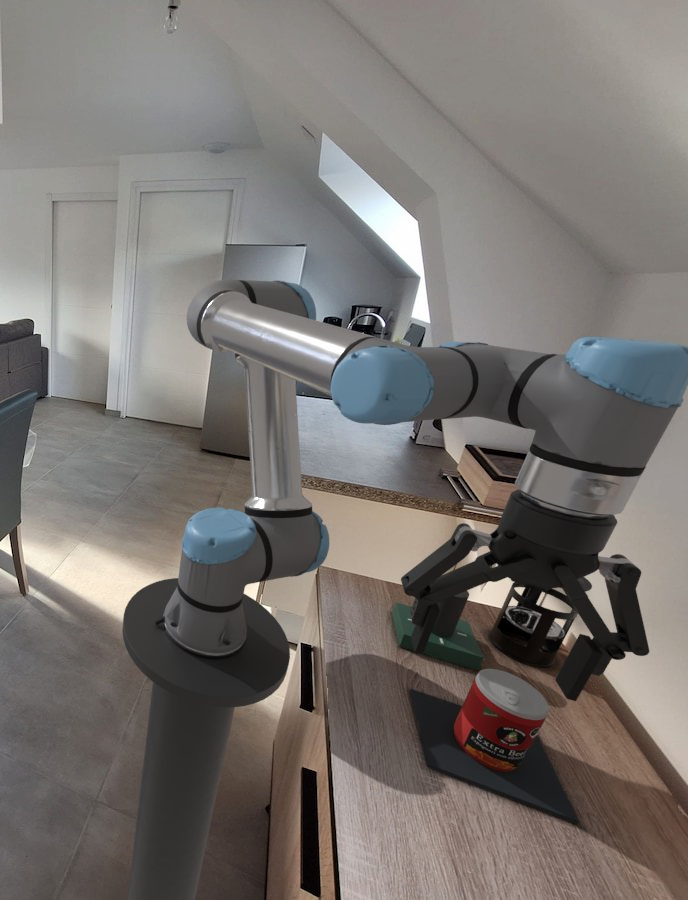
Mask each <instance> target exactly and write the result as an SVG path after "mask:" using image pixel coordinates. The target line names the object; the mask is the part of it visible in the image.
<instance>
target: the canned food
mask: <svg viewBox="0 0 688 900" xmlns="http://www.w3.org/2000/svg"><path fill="white" fill-rule="evenodd" d="M463 701H464V702H463V704H462V705H461V706H462V708H461V710H460V712H459V715H458V717H457V719H456V721H455V724H454V735H455V738H456V740H457V742H458V743H459V745H460V746H461V747H462V749H463V750H464V751H465V752H466V753H467V754H469V755H470V756H471V757H472V758H473V759H475V760H476V761H478V762H479V763H481V764H483V765H485V766H487V767H489V768H491V769H494V770H498V771H505V772H508V771H512V770H514V769H515V768H517V767H518V766H519V765H520V763H521V762H522V760H523V758H524V756H525V755H526V753H527V751H528V749H529V748H530V746H531V744H532V742H533V740H534V739H535V737H536V735H537V736H538V734H539V732H540V730H541V728H542V726H543V725H544V723H545V722H546V719H547V717H548V715H549V712H550V705H549V703H548V701H547V700H546V698H545V697H544V696H543V694H542V693H541V692H540V691H538V690H537V689H536V688H535V687H534V686H532V685H531V684H530V683H529V682H527V681H526V680H524V679H522V678H520V677H518V676H516V675H514V674H511V673H510V672H507V671H504V670H500V669H495V668H483V669H481V670H479V671H478V673H477V674H476V675H475V677H474V680H473V682H472V683H471V686H470V688H469V690H468V692H467V694H466V697H465V699H464V700H463Z"/></svg>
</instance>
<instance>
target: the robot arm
mask: <svg viewBox="0 0 688 900" xmlns="http://www.w3.org/2000/svg"><path fill="white" fill-rule="evenodd" d="M186 325H187V329H188V332H189V333H190V335H191V337H192V338H193V340H195V341H196V342H197V343H198V344H200V345H201V346H203V347H205V348H207V349H210V350H212V351H214V352H216V353H229V352H232V353H234V360H235V362H236V363H237V364H238V365H240V366H241V367H242V368H243V369H244V384H245V385H244V387H245V398H246V399H245V400H246V401H245V402H246V418H247V432H248V434H247V435H248V445H249V446H248V447H249V463H250V465H249V466H250V479H251V480H250V481H251V496H250V498H248V499H247V501H245V502H244V504H243V505H244V507H243V508H244V512H243V511H241V510H237V509H234V508H229V509H225V508H224V507H211V508H206V509H203V510H200V511H198V512H196V513H195V514H193V515H192V516H191V517H190V518H189V520H188V521H187V523H186V525H185V528H184V532H183V537H182V539H181V552H180V553H181V554H180V562H179V571H178V577H177V578H178V585H177V588H176V590H175V592H174V593H173V595H172V597H171V599H170V600H169V602H168V604H167V606H166V608H165V611H164V616H163V617H161V618H159V619H157V620H155V623H156V625H158V624H160V623H162V622H163V626H164V629H165V632H166V634H167V635H168V637H169V638H170V639H171V641H172V642H173V643H174V644H176V645H177V646H178V647H179V648H181V649H182V650H184V651H186V652H188V653H190V654H192V655H195V656H198V657H202V658H207V659H224V658H228V657H231V656H233V655H235V654H237V653H238V652H239V651H240V650H241V649H242V648H243V646H244V644H245V640H246V635H247V626H246V621H245V616H244V611H243V606H242V599H243V594H245V589H246V586H248V585H251V584H256V583H262V582H268V581H272V580H277V579H284V578H293V577H300V576H302V575H304V574H307V573H311V572H313V571H316V570H317V569H318V568H319V567H321V566H322V564H323V563H324V562H325V560H326V558H327V557H328V553H329V551H330V534H329V529H328V527H327V525H326V524H323V522H324V520H323V518H322V517H321V515H319V514H318V513H316V512H315V511H314V510H313V503H312V502H311V501H310V500H309V499H307V498H306V496H304V494H303V486H302V485H303V484H302V469H301V467H302V466H301V453H300V436H299V435H300V434H299V433H300V432H299V420H298V403H297V401H298V399H297V383H296V382H299V383H301V384H303V385H305V386H308V387H309V388H312V389H314V390H316V391H319V392H321V393H324V394H326V395H327V396H329V397H331V399H332V401H333V404H334V406H336V407H337V409H338V410H339V412H340V414H341V415H342V416H343V417H344V418H346V419H348V420H350V421H351V422H355V423H358V424H365V425H366V424H368V425H369V424H374V425H379V426H389V425H397V424H402V423H410V422H421V421H422V422H423V421H432V420H433V421H434V420H449V419H450V420H451V419H463V418H483V419H488V420H492V421H495V422H501V423H505V424H509V425H511V426H515V427H519V428H522V429H525V430H526V429H527V430H533V431H535V432H534V434H533V435H534V436H533V438H532V442H531V444H530V447H529V448H528V449H529V450H528V452H527V454H526V456H525V459H524V461H523V463H522V465H521V467H520V470H519V472H518V475H517V477H516V480H515V481H514V486H515V487H516V488H517V489H516V490H513V491H511V493H510V494H509V497H508V498H507V502H506V504H505V507H504V509H503V511H502V514H501V517H500V519H499V522H498V526H497V528H496V529H494V531H492V532H491V533H490V534H489V533H488V532H487V533H486V532H483V531H480V530H476V529H473V528H472V527H471V525H469V524H468V523H466V522H465V523H464V522H463V523H459V524H458V525H457V526H456V528H455V530H454V531H453V533H452V535H451V537H450V538H449V539H448V540H447V541H445V542H444V543H443V544H442V545H440V546H439V547H438V548H437V549H435V550H434V551H433V552H432V553H430V554H429V555H428V556H426V557H425V558H424V559H423V560H421V561H420V562H419V563H418V564H416V565H415V566H414V567H413V568H411V569H410V570H408V572H407V573H405V574H404V575H402V576H401V578H400V582H401V586H402V590H403V592H404V594H405V595H406V596H408V597H413V598H414V600H413V603H412V606H411V607H412V608H411V611H410V616H411V619H412V623H413V624H415V628H414V630H413V633H412V636H411V640H412V644H413V647H414V651H413V652H414V653H415V654H418V655H421V656H423V655H424V654H423V652H424V650H425V647H426V645H427V642H428V640H429V637H430V635H431V632H432V629H433V627H434V624H435V622H436V619H437V617H438V614H439V611H440V609H439V607H438V604H437V603H438V602H440V601H443V600H445V599H448V598H450V597H452V596H455V595H457V594H460V593H462V592H465V591H470V590H472V589H474V588H477V587H479V586H481V585H484V584H486V583H489V582H491V583H497V582H499V581H502V580H505V579H507V578H508V579H510V581H511V582H513V583H514V582H517V583H522V584H533V585H535V586H537V587H540V588H543V589H547V590H551V588H552V589H558V588H559V587H561V588H560V589H562V591H563V592H564V594H565V595H566V596H567V597H568V598H569V600H570V601H571V603H572V605H573V606H574V608H575V609H576V611H577V612H578V615H579V617H580V618H581V620H582V621H583V623H584V625H585V627H586V628H587V629H588V631H589V633H590V634H591V636H592V638H591V636H589V635H587V634H582V633H579V634H578V636H577V638H576V640H575V641H574V644H573V645H572V647H571V649H570V651H569V653H568V655H567V656H566V659H565V661H563V664H562V666H561V667H560V670H559V672H558V673H557V675H556V677H555V679H554V681H555V682H556V684H557V685H558V687H559V689H560V691H561V692H562V694H563V695H564V697H565V698H566V699H567V700H570V701H573V702H577V700H578V699H579V696H580V695H581V693H582V692H583V690H584V689H585V686H586V684H587V683H588V681H589V680H590V677H592V675H594V676H598V677H600V676H601V675H603V674H604V673H605V671H606V669H607V668H608V666H609V664H610V662H611V661H612V660H615V661H621V660H624V659H625V658H626V657H627V656H626V655H627V654H626V653H632V654H634V655H635V656H638V657H645V656H648V655H649V653H650V646H649V642H648V638H647V633H646V628H645V625H644V619H643V615H642V611H641V606H640V602H639V596H638V593H637V587H638V584H639V582H640V579H641V576H642V570H641V569H640V568H639V567H638V566H637V565H635V564H634V563H633V562H632V561H631V559H628V557H626V556H625V555H623V554H620V553H618V554H617V553H616V554H613V555H611V556H610V557H606V556H601V555H600V556H599V554H600V553H601V552H602V551H603V550H605V548H606V545H607V544H608V542H609V540H610V538H611V536H612V534H613V532H614V530H615V528H616V526H617V525H618V519H617V518H616V516H615V515H619V514H622V513H623V511H625V508H626V506H627V504H628V502H629V501H630V498H631V496H632V495H633V492H634V490H635V489H636V487H637V485H638V483H639V482H640V479H641V477H642V475H643V473H644V472H645V469H646V467H647V464H648V463H649V461H650V459H651V457H652V456H653V453H654V452H655V450H656V448H657V446H658V445H659V443H660V441H661V440H662V438H663V436H664V435H665V432H666V430H667V428H668V427H669V425H670V423H671V421H672V420H673V418H674V415H675V414H676V412H677V411H678V409H679V408H681V407H682V403H683V402H684V396H685V393H686V390H687V388H688V346H687V345H685V344H681V343H675V342H670V341H669V342H667V341H657V340H647V339H633V338H626V337H625V338H624V337H610V336H584V337H581V338H578V339H577V340H575V341H574V342H573V343H572V344H571V347H570V348H569V350H568V351H567V352H565V354H557V353H545V352H537V351H531V350H525V349H518V348H511V347H510V348H509V347H504V346H498V345H490V344H488V343H485V342H479V341H478V342H469V341H464V342H462V341H448V342H444V343H442V344H440V345H439V346H413V345H407V344H402V343H399V342H396V341H392V340H388V339H384V338H380V337H377V336H374V335H370V334H366V333H363V332H359V331H356V330H352V329H349V328H345V327H341V326H338V325H334V324H331V323H326V322H323V321H319V320H317V308H316V304H315V301H314V298H313V296H312V295H311V293H310V292H309V291H308V290H307V289H306V288H305V287H303V286H302V285H300V284H298V283H295V282H287V281H284V280H280V279H279V280H276V279H275V280H249V279H248V280H247V279H231V278H230V279H220V280H215V281H213V282H210V283H209V284H207V285H205V286H204V287H201V288H200V290H198V291H197V292H196V293H195V295H194V296H193V297H192V299H191V301H190V303H189V305H188V308H187V310H186ZM482 547H487V548H488V549H489V551H488V552H485V553H482V554H480V555H478V556H477V557H476V558H475V559H474V560H473V561H471V562H469V563H467V564H465V565H462V566H460V567H457V568H455V569H453V570H451V569H452V568H453V567H455V566H456V565H458V564H459V563H461V562H462V561H463V560H464V559H465V558H466V557H467V556H469V554H470V553H471V552H478V550H479V549H480V548H482ZM493 565H497V566H493ZM449 570H451V571H449ZM597 571H598V572H599V574H600V575H601V576H602V577H603V578H604V581H605V582H604V583H605V586H606V591H607V595H608V598H609V603H610V608H611V612H612V616H613V620H614V625H615V628H616V632H615V631H614V632H612V631H610V629H609V628H608V626H607V624H606V623H605V622H604V620H603V618H602V617H601V615H600V614H599V612H598V610H597V609H596V607H595V606H594V604H593V603H592V601H591V600H590V598H589V595H588V594H587V591H586V592H585V591H584V589H583V588H582V586H581V585H580V583H579V582H578V579H580V578H582V577H585V578H586V576H589V575H592V574H593V573H595V572H597Z"/></svg>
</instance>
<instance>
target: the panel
mask: <svg viewBox="0 0 688 900" xmlns="http://www.w3.org/2000/svg"><path fill="white" fill-rule="evenodd" d="M411 608H412V606H411V605H408V604H403V603H400V602H395V604H394V607H393V609H392V612H391V616H392V620H393V621H392V622H393V625H394V629H395V633H396V638H397V642H398V646H399V647H400V648H403V649H406V650H409V651H413V652H415V651H414V647H413V644H412V640H411V636H412V633H413V630H414V628H415V624H413V623H412V619H411V616H410V611H411ZM423 655H425V656H429V657H432V658H436V659H438V660H442V661H446V662H449V663H451V664H452V663H453V664H455V665H459V666H463V667H466V668H470V669H472V670H476V671H480V667H481V665H482V663H483V661H484V659H485V656H484V654H483V652H482V650H481V648H480V646H479V643H478V641H477V639H476V637H475V635H474V632H473V630H472V628H471V625H470V623H469V621H468V620H467V621H466V620H464V619H459V621H458V624H457V626H456V628H455V631H454V633H453V635H452V636H451V637H442V636H438V635H435V634H433V633H431V635H430V637H429V640H428V642H427V645H426V647H425V650H424V652H423Z"/></svg>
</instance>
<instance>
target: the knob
mask: <svg viewBox="0 0 688 900" xmlns="http://www.w3.org/2000/svg"><path fill="white" fill-rule="evenodd" d="M469 597H470V592H469V590H467V591H465V592H462V593H460V594H457V595H455V596H452V597H450V598H448V599H445V600H443V601H440V602H438V603H437V604H438V607H439V609H440V611H439V614H438V617H437V619H436V622H435V624H434V627H433V629H432V632H431V633H433V634H435V635H438V636H442V637H451V636H452V635H453V633H454V631H455V628H456V626H457V624H458V621H459V619H460V618H461V616H462V613H463V611H464V609H465V606H466V605H467V602H468V599H469ZM460 620H461V619H460Z"/></svg>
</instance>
